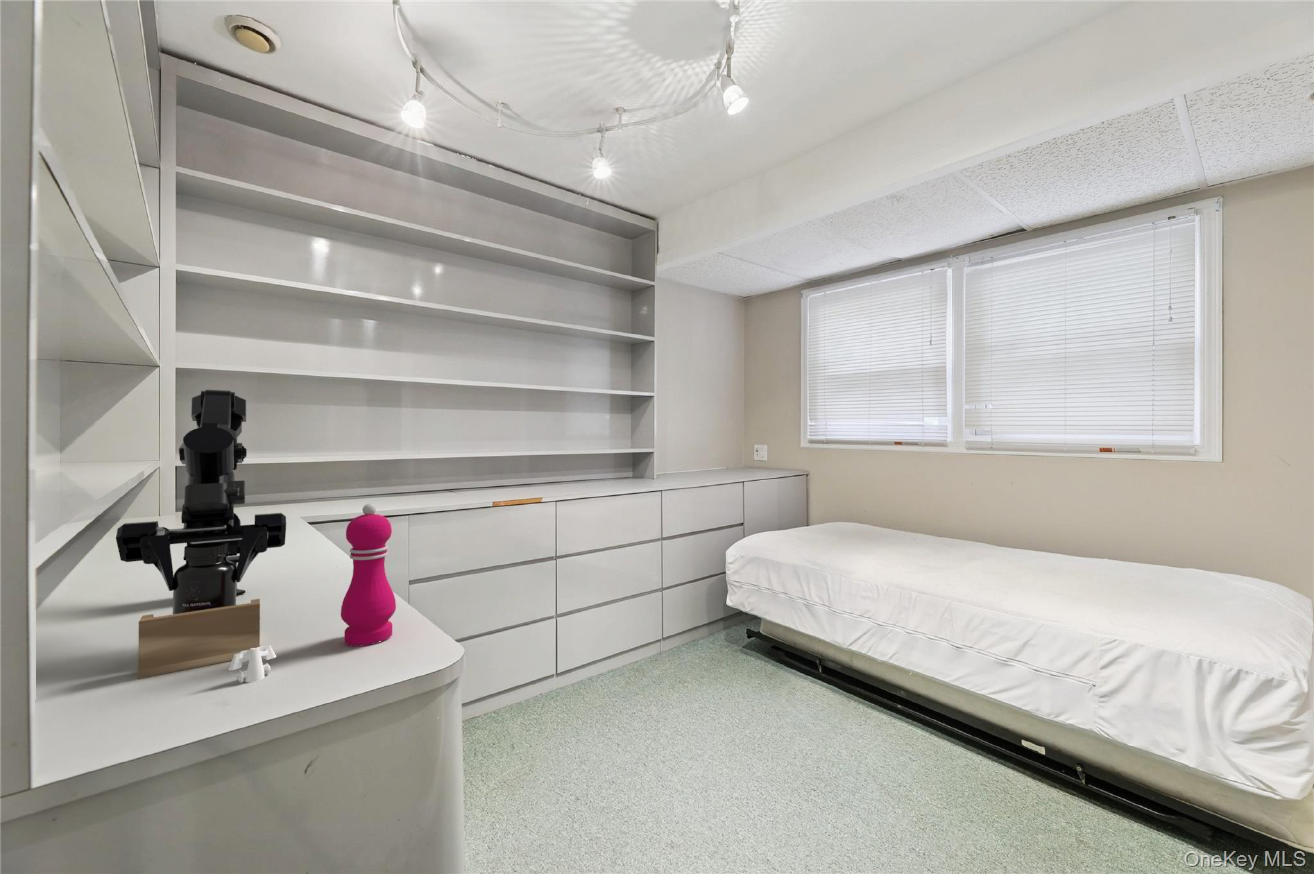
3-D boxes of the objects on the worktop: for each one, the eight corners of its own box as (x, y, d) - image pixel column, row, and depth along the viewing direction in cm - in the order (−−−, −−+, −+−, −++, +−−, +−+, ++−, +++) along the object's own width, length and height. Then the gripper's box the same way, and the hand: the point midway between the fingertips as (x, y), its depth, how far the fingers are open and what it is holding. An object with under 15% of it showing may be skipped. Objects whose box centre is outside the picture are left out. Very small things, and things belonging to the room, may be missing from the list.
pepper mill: (405, 630, 82) (406, 501, 82) (376, 648, 75) (377, 506, 75) (361, 629, 83) (362, 500, 83) (328, 647, 76) (329, 506, 76)
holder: (151, 651, 74) (151, 600, 74) (258, 632, 82) (258, 586, 82) (138, 678, 66) (138, 621, 66) (259, 654, 73) (259, 603, 73)
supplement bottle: (182, 642, 70) (183, 551, 70) (164, 632, 74) (165, 546, 74) (244, 627, 76) (245, 543, 76) (225, 618, 80) (225, 538, 80)
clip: (274, 669, 68) (274, 640, 68) (281, 673, 67) (281, 643, 67) (226, 684, 64) (226, 653, 64) (232, 688, 63) (232, 656, 63)
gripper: (119, 464, 72) (100, 560, 64) (285, 461, 84) (289, 542, 75) (129, 515, 79) (113, 609, 70) (283, 506, 90) (286, 586, 81)
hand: (205, 584), depth 74 cm, fingers closed on supplement bottle, 7 cm apart
